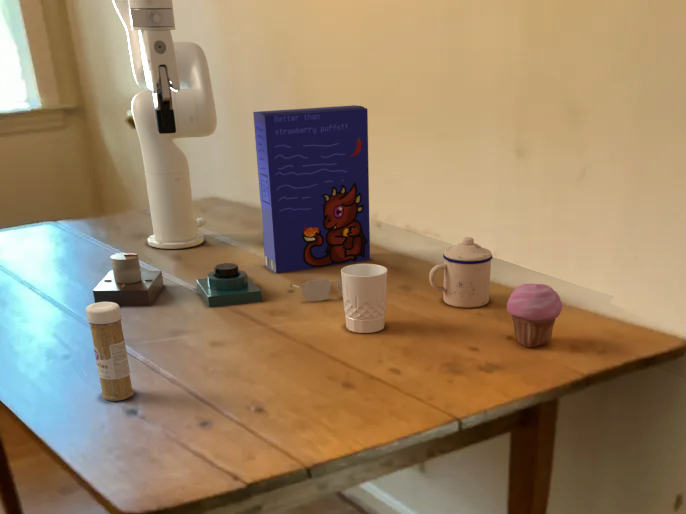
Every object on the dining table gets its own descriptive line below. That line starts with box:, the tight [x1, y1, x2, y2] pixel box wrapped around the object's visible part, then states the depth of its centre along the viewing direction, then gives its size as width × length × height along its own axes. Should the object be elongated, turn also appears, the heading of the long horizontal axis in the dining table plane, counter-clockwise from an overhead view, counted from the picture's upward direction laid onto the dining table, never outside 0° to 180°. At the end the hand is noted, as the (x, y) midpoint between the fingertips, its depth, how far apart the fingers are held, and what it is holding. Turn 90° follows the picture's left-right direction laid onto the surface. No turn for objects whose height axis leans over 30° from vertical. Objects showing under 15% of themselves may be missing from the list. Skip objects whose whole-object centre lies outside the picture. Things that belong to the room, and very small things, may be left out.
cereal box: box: [252, 104, 371, 274], centre depth 185 cm, size 22×6×30 cm, turn 119°
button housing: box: [195, 269, 263, 308], centre depth 172 cm, size 12×10×4 cm
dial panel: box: [92, 270, 165, 307], centre depth 172 cm, size 13×10×3 cm
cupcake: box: [506, 282, 563, 348], centre depth 149 cm, size 9×9×10 cm
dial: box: [110, 252, 142, 284], centre depth 170 cm, size 5×5×5 cm
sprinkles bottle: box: [85, 302, 134, 402], centre depth 129 cm, size 5×5×14 cm
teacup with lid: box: [428, 236, 493, 309], centre depth 167 cm, size 12×9×12 cm
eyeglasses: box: [290, 277, 343, 303], centre depth 174 cm, size 14×8×4 cm, turn 112°
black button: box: [213, 262, 239, 278], centre depth 171 cm, size 4×4×2 cm
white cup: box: [340, 263, 388, 334], centre depth 155 cm, size 8×8×10 cm
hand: (167, 132), depth 170 cm, fingers closed
